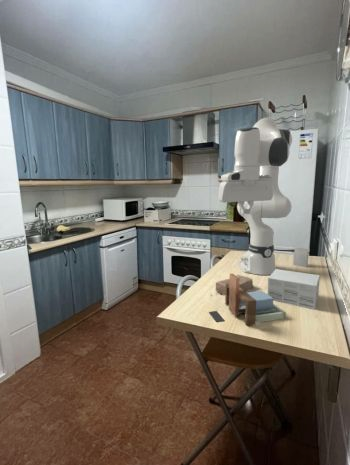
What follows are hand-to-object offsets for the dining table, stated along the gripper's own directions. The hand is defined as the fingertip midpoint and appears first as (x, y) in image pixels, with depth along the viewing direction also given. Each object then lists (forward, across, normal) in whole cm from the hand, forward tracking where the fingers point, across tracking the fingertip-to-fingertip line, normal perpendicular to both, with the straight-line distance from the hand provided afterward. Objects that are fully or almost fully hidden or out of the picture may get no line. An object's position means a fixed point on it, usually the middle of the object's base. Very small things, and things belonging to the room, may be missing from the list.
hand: (245, 213), depth 94 cm
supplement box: (+35, -20, +3) cm, 40 cm away
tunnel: (+34, +7, +10) cm, 36 cm away
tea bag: (+36, -52, -32) cm, 70 cm away
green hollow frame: (+34, -1, +9) cm, 35 cm away
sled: (+33, +2, +9) cm, 35 cm away
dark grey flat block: (+34, +15, +9) cm, 38 cm away
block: (+34, 0, +9) cm, 35 cm away
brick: (+35, -2, -11) cm, 36 cm away
